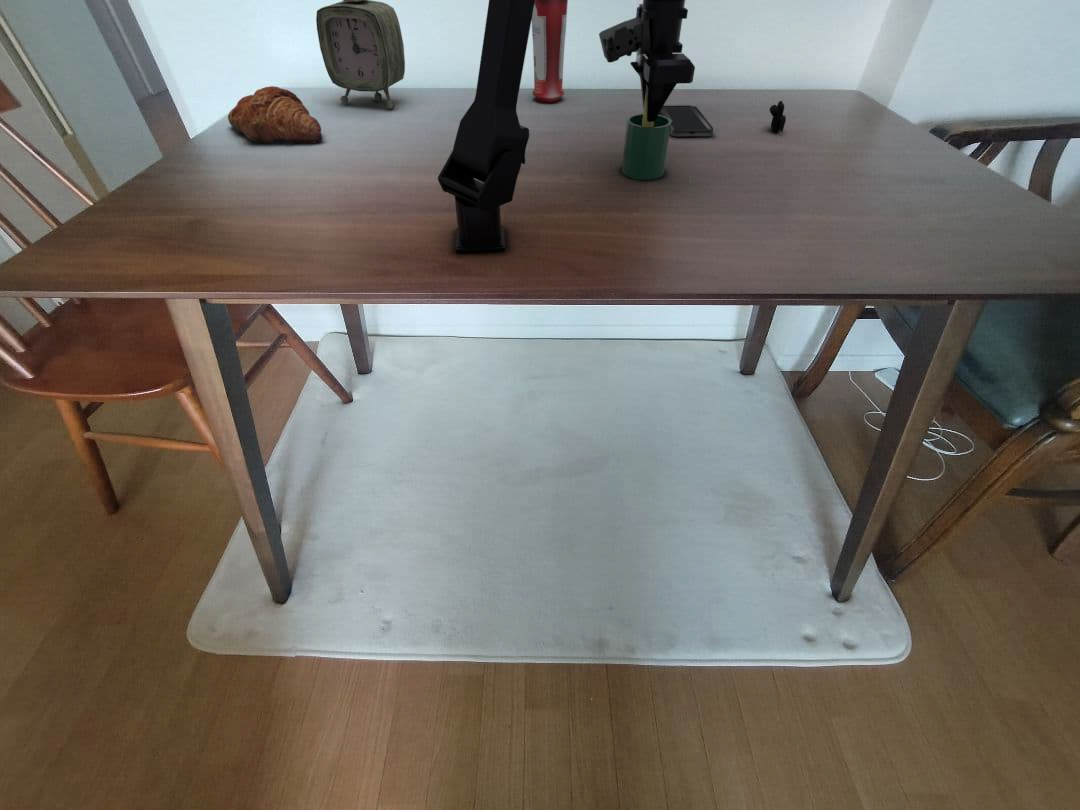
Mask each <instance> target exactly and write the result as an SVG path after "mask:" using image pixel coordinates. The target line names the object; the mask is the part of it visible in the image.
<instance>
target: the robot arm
mask: <svg viewBox="0 0 1080 810" xmlns="http://www.w3.org/2000/svg"><path fill="white" fill-rule="evenodd" d="M534 3H535V0H488V4H487V5H488V6H487V11H486V12H487V13H486V19H485V26H484V33H483V39H482V40H483V41H482V48H481V55H480V62H479V68H478V77H477V83H476V90H475V91H476V92H475V96H474V100H473V102H472V103H471V105H470V106H469V107H468V109H467V110H466V112H465V113H464V115H463V117H462V118H461V119H460V121H459V125H458V128H457V132H456V135H455V139H454V144H453V148H452V150H451V153H450V154H449V156H448V158H447V160H446V162H445V163H444V165H443V167H442V169H441V171H440V173H439V174H438V176H437V181H438V183H439V185H440V188H441V190H442V192H444V193H448V194H450V195H452V196H454V203H455V213H456V223H457V227H456V228H455V245H454V246H455V247H454V248H455V252H456V253H484V252H504V251H505V250H506V241H505V227H504V226H503V225H502V221H501V206H503V205H506V204H508V203H511V202H512V201H513V198H514V193H515V190H516V185H517V180H518V177H519V174H520V170H521V167H522V165H525V164H526V149H527V145H528V142H529V139H530V129H529V127H526V126H523V125H521V124H520V120H519V116H518V112H517V104H518V99H519V94H520V93H519V92H520V87H521V82H522V77H523V70H524V64H525V59H526V53H527V48H528V42H529V36H530V31H531V26H532V14H533V8H534ZM685 3H686V0H642V3H639V4H638V6H637V7H636V13H635V17H634V18H633V17H632V18H631V19H628V20H624V21H622V22H620V23H618V24H615V25H613V26H610V27H608V28H605V29H603V30H601V31H600V32H599V33H598V36H599V40H600V44H601V49H602V53H603V56H604V58H605V59H606V62H607V63H614V62H617V61H618V60H620V58H622V57H625V56H627V57H632V54H633V53H636V55H635V61H631V62H630V66H631V67H632V68H633V70H634V71H635V73H637V76H639V79H640V89H641V98H642V109H643V111H644V103H645V95H646V107H647V121H648V122H654V121H655V119H656V118H657V116H658V115H659V112H660V111H661V109H662V107H663V106H665V105H666V102H667V100H668V99H669V97H670V95H671V94H672V92H673V91H674V89H675V88H676V86H677V85H678V84H691V83H693V82H694V75H695V70H696V66H695V64H693V62H692V61H691V59H690V58H689V57H688V56H687V55H685V53H682V52H683V43H681V41H680V38H681V33H682V26H683V20H684V19H685V20H686V19H688V14H689V13H688V11H689V9H687V8H686V7H685Z"/></svg>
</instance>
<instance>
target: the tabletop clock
mask: <svg viewBox="0 0 1080 810" xmlns="http://www.w3.org/2000/svg"><path fill="white" fill-rule="evenodd" d="M315 22H316V31H317V32H316V33H317V38H318V44H319V50H320V53H321V56H322V60H323V63H324V66H325V70H326V72H327V74H328V77H329V78H330V81H331V82H332V84H334V85H336V86H337V87H339V88H342V89H345V94H344V95H342V96H341V97H340V102H341V103H342V104H343V105H348V103H349V101H350V100H349V95H350V92H351V91H356V92H372V93H373V92H374V99H375V100H376V101H377V102H380V101H382V99H383V94H382V93H381V92H382V91H383V92H384V95H385V98H386V99H387V102H386V107H387V109H389V110H393V109H394V108H395V105H396V104H395V102H394V100H391V96H390V92H389V88H390V87H392V86H393V85H395V84H397V83H399V82H400V81H402V80H404V77H405V73H406V58H405V45H404V39H403V35H402V30H401V25H400V21H399V18H398V14H397V13H396V10H395V8H394V7H393V6H391V5H390V4H388V3H385V2H382V1H377V0H341V1H339V2H335V3H333V4H329V5H326V6H323V7H321V8H319V9H317V10H316V17H315Z"/></svg>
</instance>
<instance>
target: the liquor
mask: <svg viewBox="0 0 1080 810" xmlns="http://www.w3.org/2000/svg"><path fill="white" fill-rule="evenodd" d="M568 1H569V0H535V3H534V8H533V14H532V20H531V35H532V51H533V52H532V53H533V55H532V56H533V84H534V85H533V87H534V88H533V90H532V93H531V94H532V95H533V96H534V97H535V99H537V101H538V102H540V103H547V104H549V103H556V102H558V101H560V100H561V98H562V97H563V96H564V94H565V91H564V89H563V82H564V81H563V80H564V63H565V62H564V60H565V43H566V33H567V22H568V21H567V18H568Z"/></svg>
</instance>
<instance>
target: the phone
mask: <svg viewBox="0 0 1080 810" xmlns="http://www.w3.org/2000/svg"><path fill="white" fill-rule="evenodd" d="M658 115H661V116H665V117H667V118H669V119H670V120H671V129H670V135H671V136H672V137H676V138H692V137H693V138H697V137H700V138H701V137H703V138H704V137H712V136H713V132H714V127H713V126H712V125H711V123H710V122H709V121H708V119H707V118H706V117H705V116H704V115H703V113H702V112H701V110H700V109H699V108H698V107H697V106H696V105H689V104H688V105H687V104H686V105H681V104H680V105H663V107H662V109H661V111H660V112H659V114H658Z"/></svg>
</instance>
